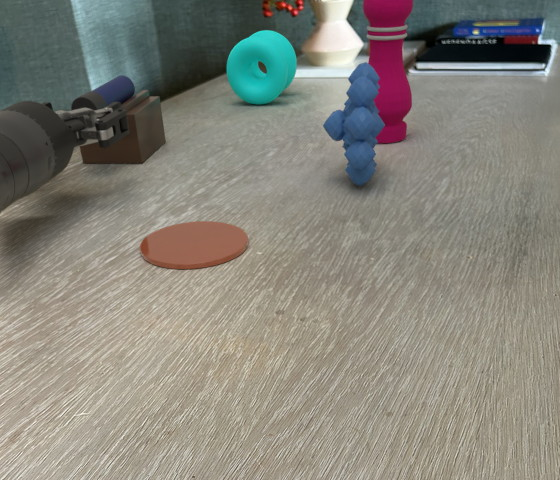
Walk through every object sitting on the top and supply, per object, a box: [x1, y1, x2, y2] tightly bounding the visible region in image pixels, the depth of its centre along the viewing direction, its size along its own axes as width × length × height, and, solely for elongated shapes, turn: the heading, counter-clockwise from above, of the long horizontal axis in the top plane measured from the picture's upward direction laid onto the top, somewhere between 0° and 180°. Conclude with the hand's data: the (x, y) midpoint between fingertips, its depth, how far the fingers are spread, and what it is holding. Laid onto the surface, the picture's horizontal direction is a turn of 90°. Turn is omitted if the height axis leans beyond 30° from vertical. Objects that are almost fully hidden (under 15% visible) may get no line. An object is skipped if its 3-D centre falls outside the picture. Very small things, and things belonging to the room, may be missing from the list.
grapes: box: [322, 61, 385, 186], centre depth 73 cm, size 12×7×12 cm, turn 171°
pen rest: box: [79, 89, 167, 165], centre depth 88 cm, size 10×8×7 cm
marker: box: [70, 75, 136, 126], centre depth 83 cm, size 13×3×3 cm, turn 170°
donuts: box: [226, 29, 298, 106], centre depth 110 cm, size 10×10×10 cm
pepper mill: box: [362, 0, 414, 144], centre depth 85 cm, size 7×7×20 cm
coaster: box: [139, 220, 249, 270], centre depth 62 cm, size 10×10×1 cm
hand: (84, 111), depth 77 cm, fingers open, 8 cm apart
